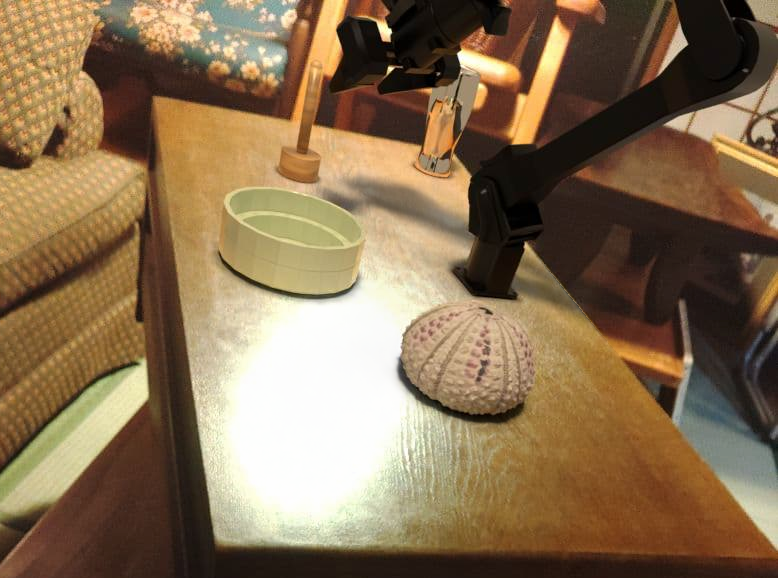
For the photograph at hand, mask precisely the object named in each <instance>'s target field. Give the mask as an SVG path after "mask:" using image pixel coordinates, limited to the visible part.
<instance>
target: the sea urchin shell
mask: <svg viewBox="0 0 778 578" xmlns="http://www.w3.org/2000/svg"><path fill="white" fill-rule="evenodd" d="M401 336H402V340H401V343H400V349H401V353H400V356H399V357H400V360H401V361H402V369H403V370H405V376H406V377H407V378H409V381H410V383H411V384H412V385H414V386H415V387H416V388H418V389H419V391H420V392H421V393H422V394H423V395H426V396H428V397H429V399H430V400H433V401H438V402H440V403H441V405H442V407H448V408H449V409H450V410H452V411H458V412H460V413H461V412H463V413H468V414H470V416H472V415H478V414H480V415H484V414H490V415H492V416H494V415H497V414H500V413H504V414H505V413H506V412H507V410H512V409H515V408H516V407H517V405H519V404H522V403H523V402H524V399H525V398H528V396H529V395H530V391H532V389H533V388H534V385H533V384H534V383H535V382H536V378H535V374H536V373H537V371H538V370H537V368H536V365H535V361H536V356H535V353H534V349H535V347H533V345H532V342H531V340H530V337H529V335H528V334H527V332H526V331H525V329H524V327H523V326H522V324H521V323H520V322H519V321H518V320H517V319H516V318H515V317H513V316H511V315H510V314H508V313H505V312H504V311H502V310H500V309H498V308H496V307H495V306H493V305H492V304H490V303H487V302H485V301H484V300H483V301H482V300H477V299H473V300H472V299H469V300H461V301H459V300H458V301H457V300H456V301H450V300H447V302H446V303H443V304H441V303H437V306H435V307H430V309H427V310H426V311H424V312H422V313H421V314H419V315H417V317H416V318H413V319H411V320H410V324H408V325H406V326H405V331H403V333H402V334H401Z"/></svg>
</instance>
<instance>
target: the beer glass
mask: <svg viewBox="0 0 778 578" xmlns="http://www.w3.org/2000/svg"><path fill="white" fill-rule="evenodd" d="M460 65H461V70H460V74H459V77H458V79H457V80H456V81H454V82H453V83H452V84H450V85H449V86H447V87H443V86H439V88H433V89H431V91H430V95H429V99H428V105H427V110H426V111H427V113H426V119H425V128H424V134H423V135H424V137H423V141H422V144H421V147H420V150H419V153H418V155H417V156H416V159H415V161H414V167H415V168H416V169H417V170H419V171H420V172H422V173H424V174H427V175H429V176H433V177H436V178H437V177H438V178H448V177H449V176H450V175H451V169H452V162H453V157H454V153H455V150H456V148H457V145H458V142H459V140H460V138H461V136H462V135H463V132H464V131H465V128H466V126H467V124H468V122H469V119H470V117H471V114H472V111H473V108H474V105H475V102H476V98H477V94H478V89H479V85H480V81H481V77H482V74H481V73H480V72H479V71H478V70H476V69H473V68H471V67H469V66H466V65H463V64H460ZM439 74H440V73H438V74H437V76H438V75H439Z"/></svg>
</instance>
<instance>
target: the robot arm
mask: <svg viewBox="0 0 778 578" xmlns="http://www.w3.org/2000/svg"><path fill="white" fill-rule="evenodd" d="M380 1H381V3H382V4H383V6H384V7H385V8H386V10H387V11H388V12H389V13H388V14H387V15H386V16H384V19H385V22H386V26H387V29H390V30H391V31H390V32H391V33H390V34H389V41H386V40H383V37H382V35H381V31H380V29H379V25H378V22H377V21H376V20H374V19H372V18H369V17H366V16H365V17H363V16H357V15H347V16H346V17H345V18H344V19H343V20H341V21H340V22H339V23H338V24H337V25H336V29H335V33H336V35H337V38H338V42H339V44H340V47H341V50H342V56H341V59H340V60H339V62H338V65H337V66H336V69H335V71H334V73H333V75H332V77H331V79H330V81H329V83H328V90H329V92H330V94H331V95H337V94H342V93H346V92H351V91H356V90H360V89H365V88H370V87H374V86H375V83H378V82H379V84H378V85H376V90H377V92H378V93H377V94H378V95H379V96H386V95H387V96H388V95H393V94H400V93H408V92H416V91H423V90H432V89H433V88H439V86H443V87H447V86H449V85H450V84H452V83H453V82H454V81H456V80H457V79H458V77H459V74H460V70H461V65H462V64H461V62H460V59H459V55H458V53H460V52H461V51H462V46H461V43H462V42H464V41H466V40H467V39H468V38H469V37H471V36H472V35H474V34H475V33H476V32H478V31H480V29H481V28H483V31H484V34H486V35H487V36H493V37H503V38H504V37H506V36H507V34H508V30H509V25H510V23H509V22H510V17H511V14H512V12H513V9H512V7H509V6H506V5H505V4H504V1H503V0H380ZM673 1H674V4H675V8H676V12H677V13H676V14H677V16H678V21H679V24H680V30H681V33H682V34H683V36H684V39H685V40H686V43H687V45H685V46H684V47H683V48H682V49H681V50H680V51H678V53H677V54H676V55H675V56H674V57H673V59H672V60H671V61H670V62H669V63H668V64H667V65H666V67H664V69H663V70H662V71H661V72H660V73H659V74H658V75H657V76H656V77H654V79H651V80H650V81H648V82H647V83H645V84H644V85H641V86H640V87H638V88H637V89H634V90H633V91H631V92H630V93H628V94H626V95H625V96H623V97H621V98H620V99H618V100H617V101H615V102H614V103H612V104H610V105H608V106H607V107H605V108H604V109H602V110H600V111H598V112H597V113H595V114H594V115H591V116H590V117H588V118H587V119H586V120H583V121H582V122H580V123H579V124H576V125H575V126H574V127H572V128H570V129H569V130H566V131H565V132H563V133H562V134H560V135H558V136H557V137H555V138H554V139H552V140H550V141H549V142H547V143H545V144H544V145H542V146H540V147H539V148H537V147H538V146H537V143H536V142H534V143H533V142H532V143H531V142H530V143H514V144H512V143H511V144H508V145H506V146H504V147H503V148H501V149H500V150H499V151H497V153H496V154H495V155H494V156H492V157H490V158H489V159H486V160H479V162H478V164H479V166H480V167H479V168H478V169H477V170H476V171H475V172H474V173H473V174H472V175H471V176H470V179H469V185H468V189H467V201H468V223H467V225H468V227H467V231H468V233H470V234H471V235H473V236H474V239H473V243H472V245H471V248H470V252H469V254H468V257H467V260H466V263H465V267H462V266H454V268H453V270H452V271H453V273H455V275H456V276H457V277H458V278H459V280H460V281H461V282H462V283H463V285H464V286H466V288H467V289H468V290H469V292H471V294H473V295H476V296H485V297H495V298H505V299H518V297H519V293H518V292H517V291H516V290H515V289H514V288H513V286H512V284H513V281H514V279H515V277H516V274H517V271H518V269H519V266H520V264H521V261H522V258H523V256H524V253H525V250H526V248H525V246H526V242H530V241H532V242H535V241H536V240H538V238H539V237H540V236H541V235H542V234H543V232H544V231H545V230H546V222H545V220H544V216H543V213H542V210H541V206H540V204H541V202H543V201H544V200H545V199H546V198H547V197H548V196H549V195H550V194H551V192H553V190H554V189H555V188H556V187H557V185H558V184H560V183H561V182H562V181H565V180H566V179H567V178H569V177H571V176H573V175H575V174H577V173H579V172H580V171H582V170H584V169H586V168H587V167H590V166H591V165H593V164H594V163H597V162H598V161H600V160H602V159H604V158H606V157H608V156H610V155H611V154H614V153H615V152H617V151H619V150H621V149H622V148H624V147H626V146H627V145H629V144H631V143H634V142H635V141H637V140H638V139H641V138H642V137H644V136H646V135H647V134H649V133H651V132H653V131H654V130H656V129H659V128H660V127H663V126H664V125H666V124H668V123H670V122H671V121H673V120H675V119H677V118H679V117H681V116H684V115H687V114H692V113H694V112H695V113H696V112H699V111H702V110H706V109H708V108H712V107H715V106H719V105H722V104H725V103H727V102H731V101H733V100H736V99H739V98H742V97H746V96H748V95H752V94H753V93H755V92H757V91H759V90H760V89H762V87H764V86H765V85H766V84H767V83H768V82H769V81H770V80H771V78H772V75H773V74H774V72H775V69H776V67H777V66H778V36H777V33H776V31H774V30H773V29H772V28H771V27H770V26H769V25H768V24H763V23H760V22H758V20H757V18H756V15H755V13H754V11H753V9H752V8H751V5H750V4H749V2H748V0H673ZM389 68H393V69H392V70H391V71H390V72H388V70H389ZM438 73H440V74H439V75H438V76H437V74H438Z"/></svg>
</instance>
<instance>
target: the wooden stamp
mask: <svg viewBox="0 0 778 578" xmlns="http://www.w3.org/2000/svg"><path fill="white" fill-rule="evenodd" d="M322 73H323V64H322V62H321V60H319V59H313V60H312V61H311V62H310V65H309V70H308V76H307V83H306V89H305V92H304V93H305V94H304V100H303V104H302V105H303V106H302V112H301V118H300V124H299V129H298V130H299V131H298V135H297V144H284V145H282V146H281V150H280V155H279V161H278V168H277V170H278V172H279V174H281V176H283V177H285V178H287V179H289V180H292V181H296V182H301V183H308V184H309V183H310V184H311V183H315V182H317V181H318V176H319V171H320V167H321V162H322V156H321V155H320V153H318V152H317V151H315V150H313V149H311V148H310V147H309V146H310V140H311V136H312V131H313V130H312V129H313V124H314V117H315V112H316V107H317V101H318V95H319V89H320V84H321V79H322V77H321V76H322Z"/></svg>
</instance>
